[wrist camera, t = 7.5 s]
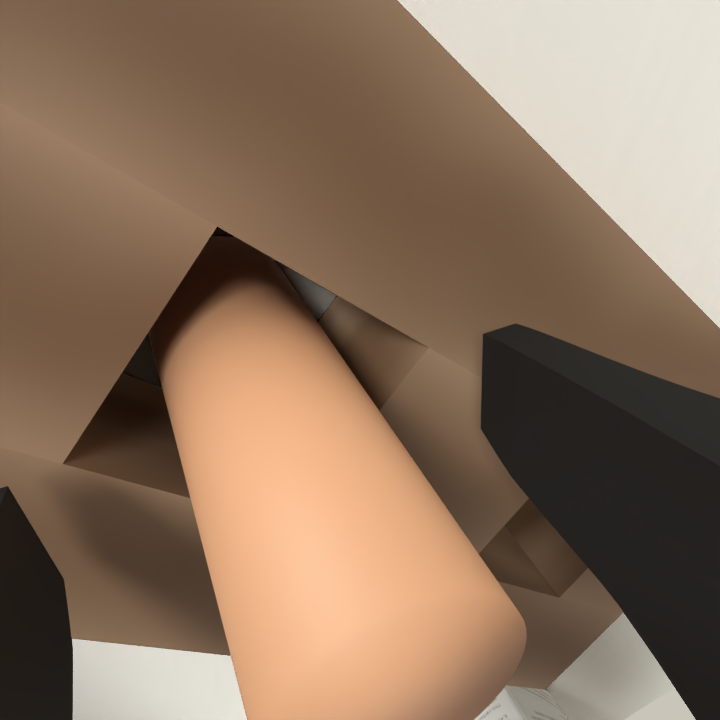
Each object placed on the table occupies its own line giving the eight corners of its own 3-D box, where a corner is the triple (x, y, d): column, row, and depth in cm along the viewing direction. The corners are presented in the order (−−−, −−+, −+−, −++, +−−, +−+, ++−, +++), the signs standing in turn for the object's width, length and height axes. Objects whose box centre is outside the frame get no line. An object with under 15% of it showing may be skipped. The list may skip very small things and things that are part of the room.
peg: (240, 382, 15) (414, 783, 8) (115, 334, 13) (196, 799, 6) (312, 275, 14) (574, 614, 7) (190, 209, 12) (381, 574, 5)
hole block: (490, 605, 24) (545, 689, 22) (-252, 435, 11) (-346, 593, 9) (717, 361, 22) (813, 424, 19) (74, -239, 9) (87, -316, 6)
